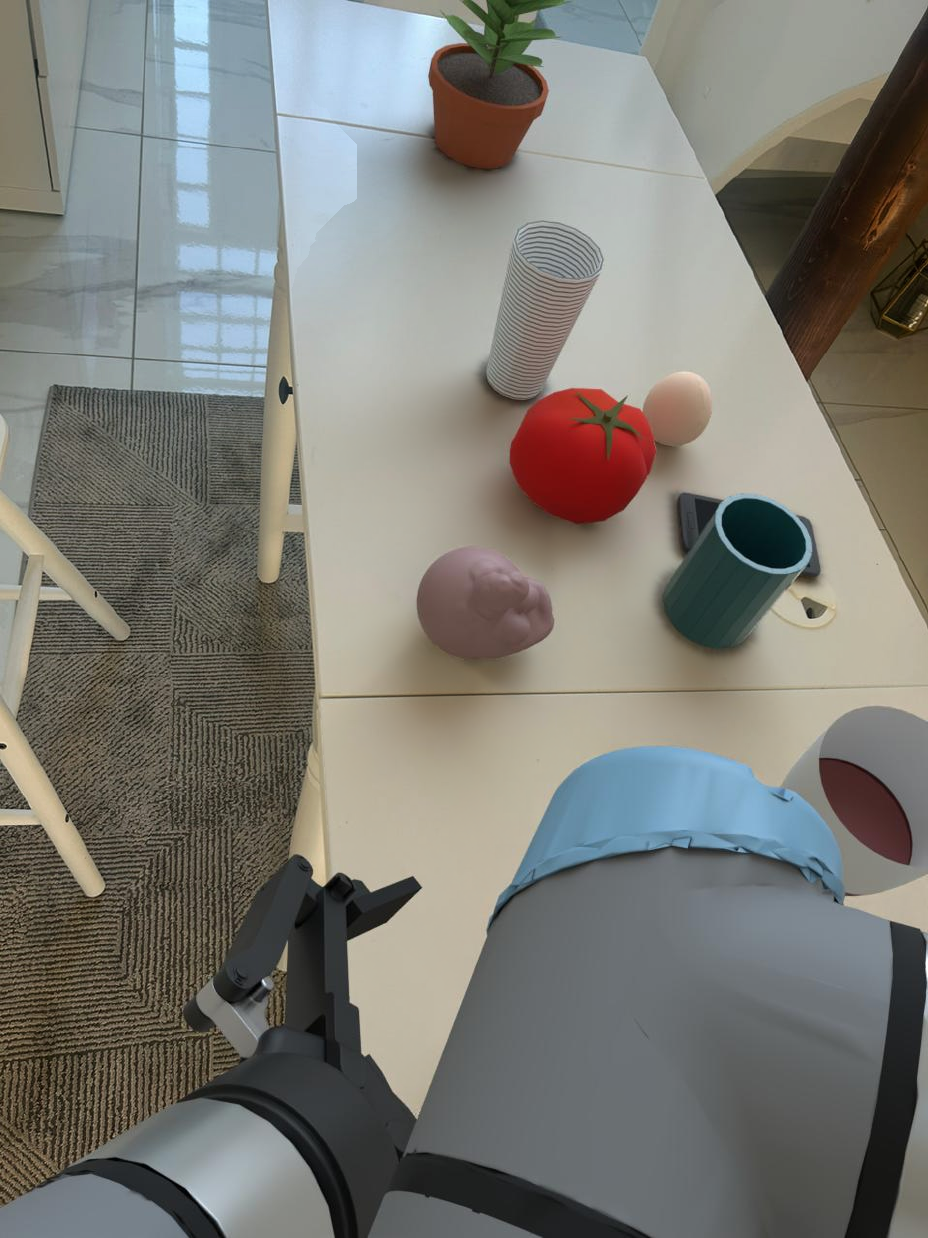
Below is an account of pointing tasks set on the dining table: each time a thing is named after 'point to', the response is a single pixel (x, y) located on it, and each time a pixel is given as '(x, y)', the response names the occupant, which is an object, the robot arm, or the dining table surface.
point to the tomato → (582, 454)
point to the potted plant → (489, 84)
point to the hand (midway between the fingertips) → (488, 1011)
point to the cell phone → (701, 509)
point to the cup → (540, 304)
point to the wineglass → (871, 795)
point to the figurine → (482, 605)
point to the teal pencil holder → (736, 570)
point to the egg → (678, 408)
